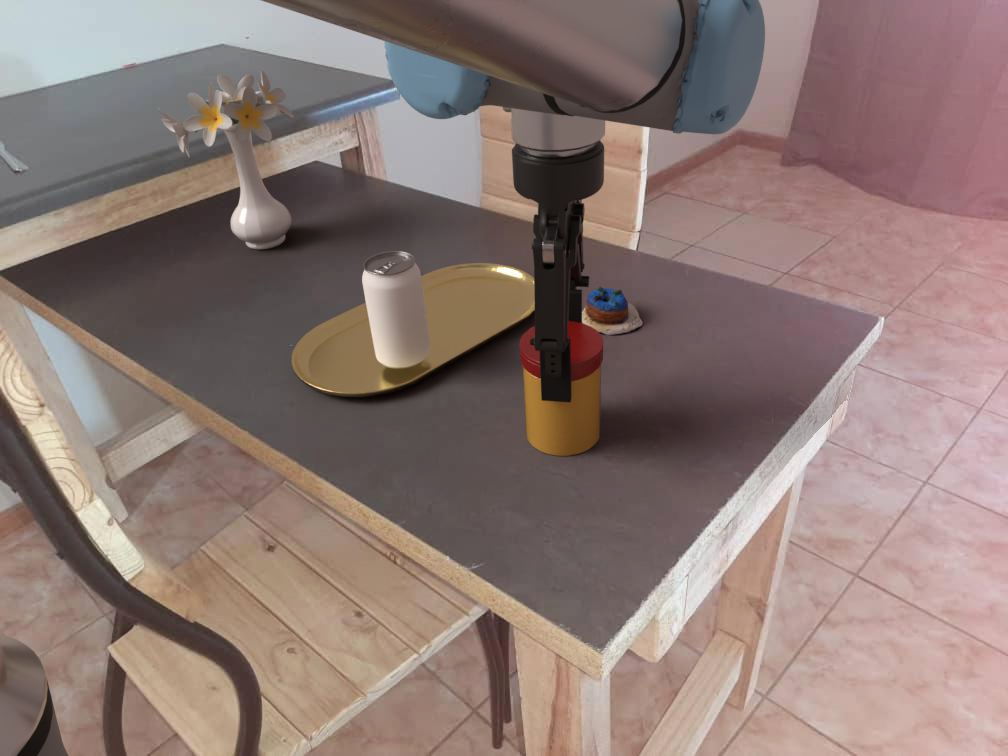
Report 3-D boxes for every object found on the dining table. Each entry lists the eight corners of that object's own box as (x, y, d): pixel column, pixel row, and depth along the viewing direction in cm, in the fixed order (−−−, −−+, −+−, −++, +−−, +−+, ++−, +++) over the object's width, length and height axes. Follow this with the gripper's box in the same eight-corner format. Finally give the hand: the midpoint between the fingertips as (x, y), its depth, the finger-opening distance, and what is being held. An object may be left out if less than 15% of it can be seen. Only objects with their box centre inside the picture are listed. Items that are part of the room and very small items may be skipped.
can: (442, 348, 91) (430, 255, 85) (408, 376, 87) (393, 281, 80) (399, 334, 94) (385, 244, 88) (364, 361, 90) (346, 268, 83)
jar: (596, 459, 76) (597, 371, 70) (520, 453, 78) (515, 366, 72) (603, 412, 82) (604, 327, 76) (532, 407, 84) (528, 323, 78)
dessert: (564, 310, 99) (589, 270, 97) (597, 323, 103) (621, 284, 101) (600, 342, 93) (627, 300, 91) (634, 354, 98) (660, 314, 96)
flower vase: (190, 253, 122) (138, 88, 107) (291, 214, 132) (255, 60, 117) (231, 277, 114) (181, 103, 99) (335, 234, 124) (303, 71, 110)
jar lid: (598, 384, 71) (599, 368, 70) (513, 379, 72) (512, 363, 71) (606, 338, 77) (606, 322, 76) (527, 333, 79) (527, 318, 78)
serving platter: (571, 301, 102) (571, 290, 101) (354, 426, 83) (352, 414, 82) (475, 260, 113) (474, 250, 113) (264, 362, 94) (261, 351, 93)
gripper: (532, 103, 72) (541, 314, 85) (484, 191, 55) (504, 437, 68) (614, 102, 70) (610, 318, 83) (590, 192, 54) (590, 444, 67)
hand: (562, 371), depth 76 cm, fingers open, 8 cm apart
